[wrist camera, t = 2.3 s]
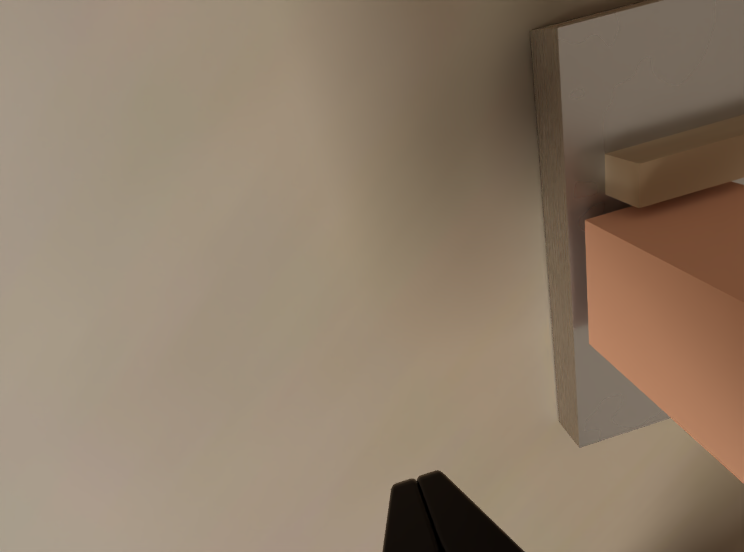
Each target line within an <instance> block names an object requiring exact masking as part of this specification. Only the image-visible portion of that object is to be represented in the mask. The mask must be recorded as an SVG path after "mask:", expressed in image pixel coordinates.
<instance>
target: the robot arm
mask: <svg viewBox="0 0 744 552" xmlns="http://www.w3.org/2000/svg"><path fill="white" fill-rule="evenodd" d="M383 552H524V551H523V550H522V549H521V548H520V547H519V546H518V545H517V544H516V543H515V542H514V541H513V540H512V539H511V538H510V537H509V536H508V535H507V534H506V533H505V532H504V531H503V530H502V529H500V528H499V527H498V526H497V525H496V524H495V523H494V522H493V521H492V520H491V519H490V518H489V517H488V516H487V515H486V514H485V513H484V512H483V511H482V510H481V509H480V508H479V507H478V506H477V505H476V504H475V503H474V502H473V501H471V500H470V499H469V498H468V497H467V496H466V495H465V494H464V493H463V492H462V491H461V490H460V489H459V488H458V487H457V486H456V485H455V484H454V483H453V482H452V481H451V480H450V479H449V478H448V477H447V476H446V475H445V474H443V473H442V472H441V471H438V470H437V471H433V472H430V473H427V474H424V475H421V476H419V477H418V478H417V481H416V480H415V479H408V480H405V481H402V482H399V483H396V484H394V485H393V486H392V489H391V494H390V501H389V509H388V516H387V523H386V531H385V538H384V545H383Z"/></svg>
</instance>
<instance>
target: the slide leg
mask: <svg viewBox="0 0 744 552" xmlns="http://www.w3.org/2000/svg"><path fill="white" fill-rule="evenodd" d="M585 244H586V273H587V301H588V329H589V344H590V345H591V346H592V347H593V348H594V349H595V350H596V351H598V352H599V353H600V354H601V355H602V356H603V357H604V358H605V359H606V360H607V361H609V362H610V363H611V364H612V365H613V366H614V367H615V368H616V369H617V370H619V371H620V372H621V373H622V374H623V375H624V376H625V377H626V378H627V379H629V380H630V381H631V382H632V383H633V384H634V385H635V386H636V387H637V388H638V389H640V390H641V391H642V392H643V393H644V394H645V395H646V396H647V397H648V398H650V399H651V400H652V401H653V402H654V403H655V404H656V405H657V406H658V407H659V408H661V409H662V410H663V411H664V412H665V413H666V414H667V415H668V416H669V417H671V418H672V419H673V420H674V421H675V422H676V423H677V424H678V425H679V426H680V427H682V428H683V429H684V430H685V431H686V432H687V433H688V434H689V435H690V436H692V437H693V438H694V439H695V440H696V441H697V442H698V443H699V444H700V445H702V446H703V447H704V448H705V449H706V450H707V451H708V452H709V453H710V454H711V455H713V456H714V457H715V458H716V459H717V460H718V461H719V462H720V463H721V464H723V465H724V466H725V467H726V468H727V469H728V470H729V471H730V472H731V473H732V474H734V475H735V476H736V477H737V478H738V479H739V480H740V481H741V482H742V483H744V185H743V184H739V183H735V182H731V181H730V182H727V183H723V184H720V185H717V186H713V187H710V188H706V189H703V190H700V191H696V192H693V193H689V194H686V195H683V196H679V197H676V198H672V199H669V200H665V201H662V202H659V203H655V204H652V205H648V206H645V207H642V208H637V207H635V206H630V207H627V208H624V209H620V210H617V211H613V212H610V213H607V214H603V215H600V216H596V217H593V218H589V219H586V220H585Z"/></svg>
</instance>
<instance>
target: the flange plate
mask: <svg viewBox="0 0 744 552" xmlns="http://www.w3.org/2000/svg"><path fill="white" fill-rule="evenodd" d="M530 37H531V51H532V64H533V77H534V91H535V104H536V118H537V131H538V145H539V158H540V171H541V185H542V198H543V212H544V225H545V238H546V252H547V265H548V279H549V292H550V305H551V319H552V332H553V346H554V359H555V372H556V386H557V399H558V413H559V422H560V424H561V425H562V426H563V428H564V429H565V430H566V431H567V433H568V434H569V435H570V436H571V438H572V439H573V440H574V442H575V443H576V444H577V445H578V447H579V448H580V447H583V446H587V445H590V444H593V443H596V442H599V441H602V440H605V439H608V438H611V437H614V436H617V435H620V434H623V433H626V432H629V431H632V430H635V429H638V428H641V427H644V426H648V425H651V424H654V423H657V422H660V421H663V420H666V419H669V418H671V417H669V416H668V415H667V414H666V413H665V412H664V411H663V410H662V409H661V408H659V407H658V406H657V405H656V404H655V403H654V402H653V401H652V400H651V399H650V398H648V397H647V396H646V395H645V394H644V393H643V392H642V391H641V390H640V389H638V388H637V387H636V386H635V385H634V384H633V383H632V382H631V381H630V380H629V379H627V378H626V377H625V376H624V375H623V374H622V373H621V372H620V371H619V370H617V369H616V368H615V367H614V366H613V365H612V364H611V363H610V362H609V361H607V360H606V359H605V358H604V357H603V356H602V355H601V354H600V353H599V352H598V351H596V350H595V349H594V348H593V347H592V346H591V345H590V344H589V329H588V301H587V273H586V244H585V220H586V219H589V218H593V217H596V216H600V215H603V214H607V213H610V212H613V211H617V210H620V209H624V208H627V207H630V206H632V205H630V204H627V203H625V202H622V201H620V200H618V199H615V198H613V197H610V196H608V195H605V154H606V153H610V152H613V151H617V150H620V149H624V148H627V147H631V146H634V145H638V144H641V143H645V142H649V141H652V140H656V139H659V138H663V137H666V136H670V135H673V134H677V133H680V132H684V131H687V130H691V129H694V128H698V127H701V126H705V125H708V124H712V123H715V122H719V121H723V120H726V119H730V118H733V117H737V116H740V115H744V0H646V1H642V2H639V3H635V4H631V5H627V6H623V7H619V8H616V9H612V10H608V11H604V12H600V13H597V14H593V15H589V16H585V17H581V18H577V19H574V20H570V21H566V22H562V23H558V24H555V25H551V26H547V27H543V28H539V29H535V30H532V31H530ZM731 182H735V183H739V184H743V185H744V178H740V179H737V180H734V181H731Z"/></svg>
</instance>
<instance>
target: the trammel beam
mask: <svg viewBox="0 0 744 552" xmlns="http://www.w3.org/2000/svg"><path fill="white" fill-rule="evenodd" d="M740 178H744V115H740V116H737V117H733V118H730V119H726V120H723V121H719V122H715V123H712V124H708V125H705V126H701V127H698V128H694V129H691V130H687V131H684V132H680V133H677V134H673V135H670V136H666V137H663V138H659V139H656V140H652V141H649V142H645V143H641V144H638V145H634V146H631V147H627V148H624V149H620V150H617V151H613V152H610V153H606V154H605V195H608V196H610V197H613V198H615V199H618V200H620V201H622V202H625V203H627V204H630V205H632V206H635V207H637V208H642V207H645V206H648V205H652V204H655V203H659V202H662V201H665V200H669V199H672V198H676V197H679V196H683V195H686V194H689V193H693V192H696V191H700V190H703V189H706V188H710V187H713V186H717V185H720V184H723V183H727V182H730V181H734V180H737V179H740Z"/></svg>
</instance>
